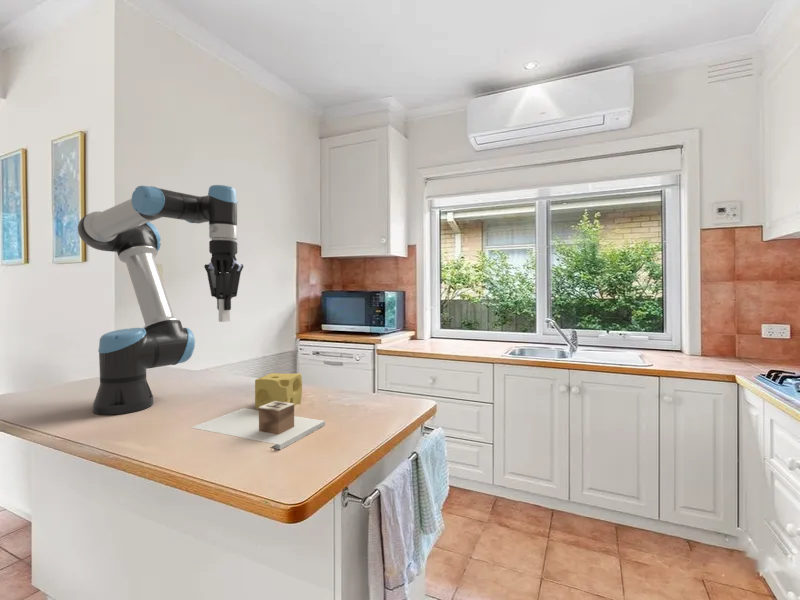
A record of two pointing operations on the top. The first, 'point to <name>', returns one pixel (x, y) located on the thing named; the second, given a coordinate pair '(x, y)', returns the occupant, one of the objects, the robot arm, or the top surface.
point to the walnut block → (276, 417)
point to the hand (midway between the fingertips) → (224, 321)
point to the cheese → (278, 389)
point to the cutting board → (248, 427)
